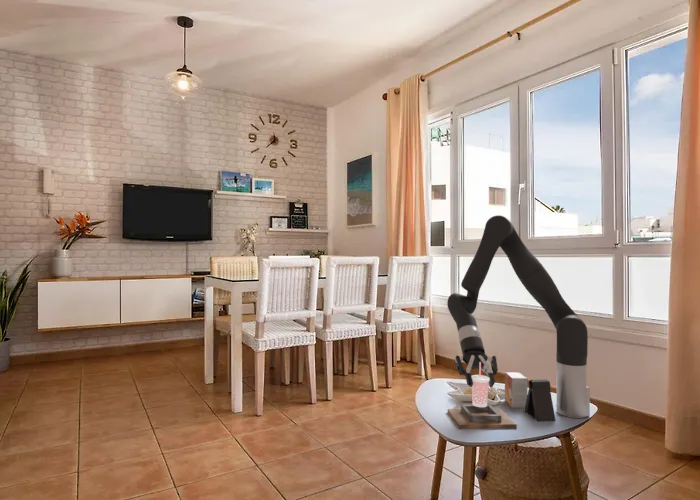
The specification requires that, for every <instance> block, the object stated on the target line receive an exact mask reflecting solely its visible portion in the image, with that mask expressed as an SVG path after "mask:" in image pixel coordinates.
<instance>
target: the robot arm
mask: <svg viewBox="0 0 700 500" xmlns="http://www.w3.org/2000/svg"><path fill="white" fill-rule="evenodd" d="M499 248H500V249H501V250H502V251H503V252H504V254H505V255H506V258H507V259H508V260H509V263H510V266H511V267H512V269H513V271H514V274H515V275H516V277H517V278H518V279H519V281H520V282H521V285H523V287H524V288H525V290H526V291H527V292H528V294H529V295H530V296H531V297H532V298H533V299H534V301H536V302H537V303H538V304H539V305H540V307H541V308H543V310H544V311H545V312H546V314H547V315H548V317H549V319H550V321H551V322H552V323H553V326H554V328H555V330H556V353H555V355H556V356H555V357H556V359H555V360H556V361H555V362H556V365H555V366H556V376H555V377H556V379H555V380H556V405H555V406H556V412H557V414H559V415H561V416H565V417H568V418H573V419H581V418H582V419H584V418H586V417H590V415H591V413H590V411H591V410H590V408H591V405H590V402H591V401H590V394H591V393H590V387H589V386H587V385H588V384H587V382H588V379H587V377H588V372H587V370H588V369H587V368H588V367H587V366H588V365H587V364H588V362H587V361H588V360H587V359H588V340H589V339H588V338H589V337H588V333H589V332H588V326H587V325H586V323H585V322H584V321H583V320H582V318H581V317H580V316H579V315H577V313H576V312H575V311H574V310H573V309H572V308H571V307H570V306H569V304H568V303H567V302H566V300H565V299H564V298H563V296H562V294H561V293H560V290H559V288H558V287H557V285H556V284H555V281H554V279H553V278H552V276H551V275H550V274H549V272H548V271H547V270H546V268H545V267H544V265H543V264H542V263H541V262H540V261H539V259H538V258H537V257H536V255H534V253H533V252H532V251H531V250H530V249H529V248H528V247H527V246H526V245H525V243H524V242H523V240H522V239H521V237H520V235H519V234H518V232H517V230H516V229H515V227H514V225H513V223H512V221H511V219H509V217H507V216H504V215H501V214H498V215H493V216H491V217H489V219H488V220H487V221H486V223H485V225H484V229H483V233H482V237H481V240H480V243H479V245H478V248H477V250H476V252H475V254H474V256H473V259H472V260H471V263H470V264H469V266H468V268H467V270H466V273H465V274H464V277H463V278H462V281H461V285H460V286H461V288H463V290H466V292H467V293H466V295H463V294H461V293H459V292H458V293H457V292H454V293H451V294H450V295H449V296H448V298H447V301H446V303H447V309H448V311H449V313H450V315H451V317H452V319H453V320H454V322H455V325H456V329H457V333H458V342H459V345H460V349H461V354H462V356H459V355H456V356H455V358H454V363H455V366H456V370H457V372H458V375H459V376H464V377H465V381H466V384H467V386H468V387H470V388H472V386H473V381H472V377H471V376H472V373H471V370H473V369H474V370H475V369H478V370H479V362H481V372H483V373H485V374H486V376H487V377H489V378H490V381H489V387H490V388H492V387H494V385H495V384H496V380H495V377H494V376H496V374H497V373H498V363H497V357H496V356H495V355H492V356H488V355H487V354H486V350H485V347H484V343H483V340H482V337H481V332H480V331H479V328H478V325H477V324H478V323H477V321H476V318H475V316H474V315H473V313H474V312H475V311H476V309H477V304H478V299H479V295H480V290H481V288H482V286H483V284H484V282H485V280H486V278H487V275H488V273H489V270H490V267H491V265H492V262H493V259H494V257H495V256H496V253H497V252H498V250H499ZM487 361H488V362H487ZM462 362H463V363H465V364H466V365H467V366H466V368H465V369H464V366H463V363H462Z"/></svg>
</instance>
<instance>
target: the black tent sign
mask: <svg viewBox="0 0 700 500" xmlns="http://www.w3.org/2000/svg"><path fill="white" fill-rule="evenodd" d="M554 409H555V408H554V405H553V398H552V393H551V382H550V380H548V379H529V380H528V392H527V400H526V405H525V408H524V412H525V413H526V414H527V415H529V416H530V417H531V418H532V419H534V420H535V421H536V422H553V421H554V422H555V421H556V416H555V410H554Z"/></svg>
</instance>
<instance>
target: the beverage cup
mask: <svg viewBox="0 0 700 500" xmlns="http://www.w3.org/2000/svg"><path fill="white" fill-rule="evenodd" d="M478 370H479V372H478V374H471V377H472V381H473V386H472V387H471V399H472V400H471V401H472V403H471V404H472V405H474V406H476V407H486V406H487V405H488V396H489V387H490V385H489V381H490V378H489V377H488V376H487V375H483V374H482V369H481V362H479V369H478Z"/></svg>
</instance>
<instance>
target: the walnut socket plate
mask: <svg viewBox="0 0 700 500" xmlns="http://www.w3.org/2000/svg"><path fill="white" fill-rule="evenodd" d="M447 414H448V415H449V417H450V418H451V419H452V421H453V422H454V423H455V425H456V427H458V429H459V430H461V429H462V430H463V429H465V430H466V429H469V430H470V429H471V430H473V429H475V430H477V429H478V430H479V429H480V430H481V429H482V430H483V429H517V428H518V427H517V425H518V424H517V423H516V422H515V421H514V420H513V419H511V418H510V417H509V416H508V415H507V414H506V413H505V412H504V411H503V410H502V409H501V408H494V406H492V405H491V404H487V406H486V407H476V406H474V405H473V404H460V408H447Z"/></svg>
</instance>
